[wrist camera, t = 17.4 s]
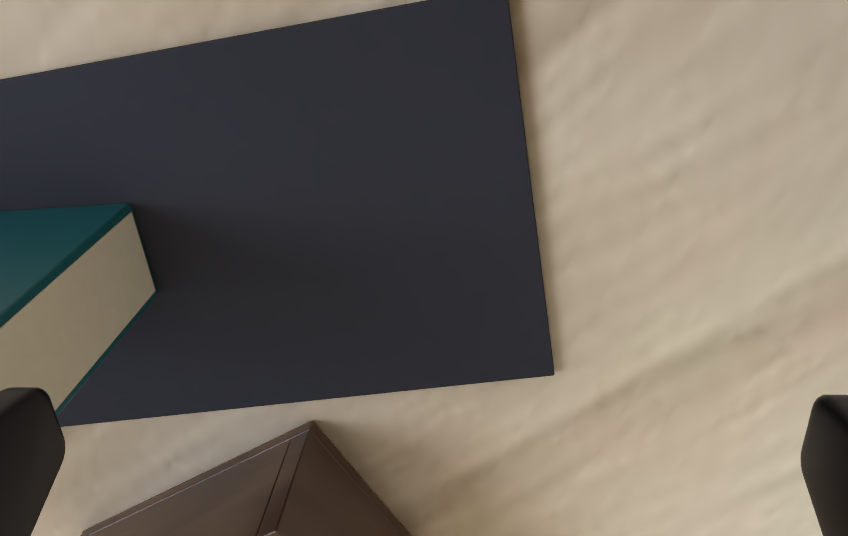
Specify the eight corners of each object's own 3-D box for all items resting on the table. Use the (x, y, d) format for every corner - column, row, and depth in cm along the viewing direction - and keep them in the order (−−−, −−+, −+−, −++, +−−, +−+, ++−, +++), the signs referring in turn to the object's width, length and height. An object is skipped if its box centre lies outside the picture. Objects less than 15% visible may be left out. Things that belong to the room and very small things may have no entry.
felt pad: (506, -15, 18) (506, -14, 18) (553, 370, 24) (554, 375, 23) (-168, 110, 21) (-176, 113, 21) (8, 427, 26) (3, 433, 26)
